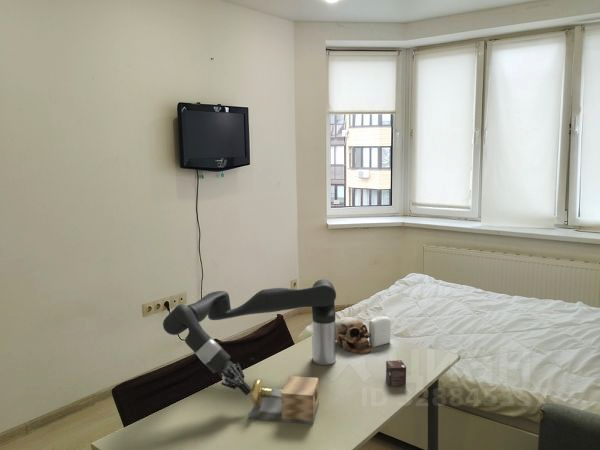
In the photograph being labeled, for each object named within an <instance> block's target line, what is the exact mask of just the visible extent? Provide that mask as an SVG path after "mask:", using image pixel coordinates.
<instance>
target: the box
mask: <svg viewBox="0 0 600 450" xmlns="http://www.w3.org/2000/svg"><path fill="white" fill-rule="evenodd" d="M385 380H386V382H387V384H388V386H389V387H390V388H391V387H392V388H394V387H406V386H407V366H406V365H405V363H404V362H403V361H402V360H400V359H399V360H397V359H396V360H386V361H385Z"/></svg>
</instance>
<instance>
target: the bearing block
mask: <svg viewBox="0 0 600 450" xmlns="http://www.w3.org/2000/svg"><path fill="white" fill-rule="evenodd" d="M319 385H320V384H319V377H309V376H308V377H307V376H298V375H296V376H294V375H289V376H288V378H287V380H286V382H285V384H284V386H283V388H282V389H283V390H282V393H281V399H277V398H264V397H263V401H262V404H261V405H253V406H252V408H251V410H250V412H249V413H248V419H252V420H260V421H261V420H262V421H263V420H264V421H277V422H286V423H296V424H297V423H298V424H309V425H311V424H312V425H314V423H315V419H316V416H317V412H318V409H319V405H320V403H319V402H320V401H319V400H320V399H319V394H320V392H319V391H320V389H319Z"/></svg>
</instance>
